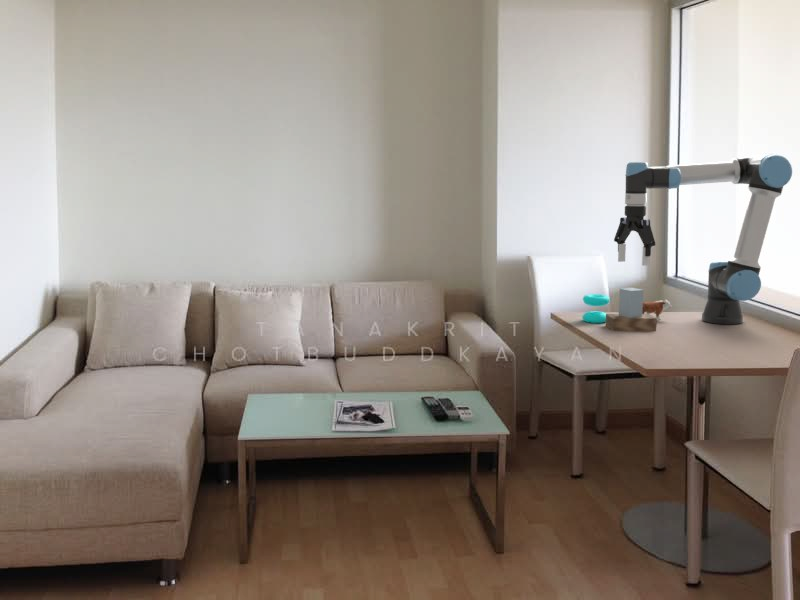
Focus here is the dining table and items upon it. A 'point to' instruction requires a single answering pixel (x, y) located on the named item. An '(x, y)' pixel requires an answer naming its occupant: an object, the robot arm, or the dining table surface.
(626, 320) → the plinth
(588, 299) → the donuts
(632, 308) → the column
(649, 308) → the bull figurine
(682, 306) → the dining table surface
